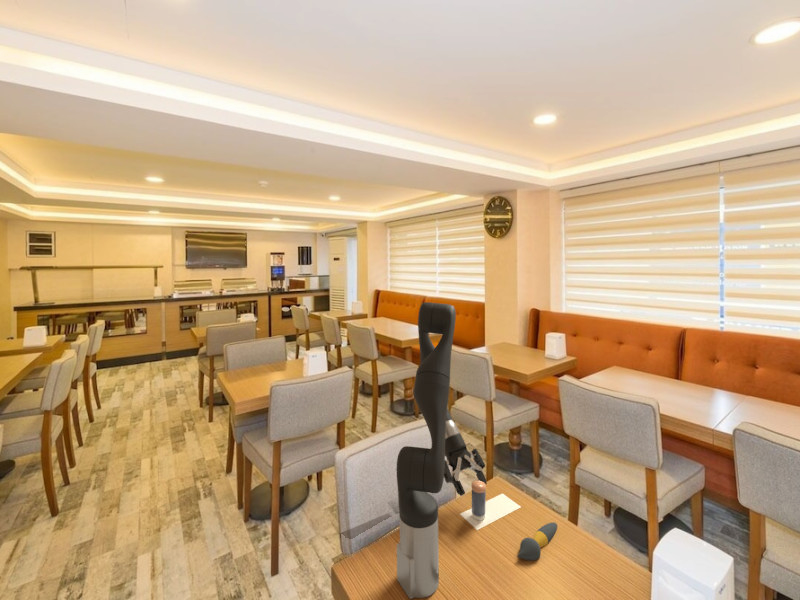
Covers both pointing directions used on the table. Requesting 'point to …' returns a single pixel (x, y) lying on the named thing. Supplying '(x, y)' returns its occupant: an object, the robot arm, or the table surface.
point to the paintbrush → (537, 542)
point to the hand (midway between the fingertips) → (473, 490)
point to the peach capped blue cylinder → (478, 500)
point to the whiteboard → (492, 511)
